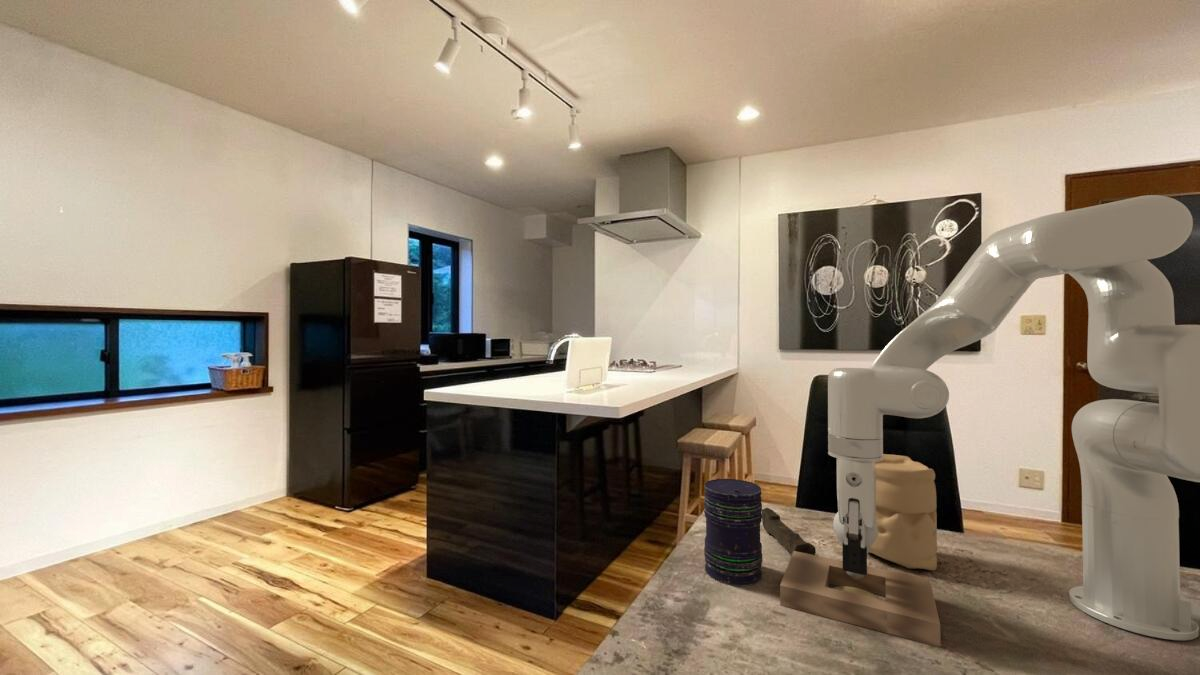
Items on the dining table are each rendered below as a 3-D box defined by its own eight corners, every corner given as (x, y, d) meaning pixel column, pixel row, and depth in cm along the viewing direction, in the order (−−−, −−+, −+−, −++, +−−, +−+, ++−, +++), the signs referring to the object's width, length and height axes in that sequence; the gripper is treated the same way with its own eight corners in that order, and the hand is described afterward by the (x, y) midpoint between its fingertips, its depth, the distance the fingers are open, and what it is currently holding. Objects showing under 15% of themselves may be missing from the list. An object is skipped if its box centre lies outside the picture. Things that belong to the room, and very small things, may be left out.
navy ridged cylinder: (699, 558, 88) (699, 478, 88) (752, 559, 87) (752, 478, 88) (710, 585, 78) (710, 495, 78) (770, 586, 77) (770, 495, 78)
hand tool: (816, 566, 85) (816, 540, 85) (795, 566, 85) (795, 540, 85) (775, 526, 104) (775, 505, 104) (757, 526, 104) (757, 505, 104)
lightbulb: (824, 573, 75) (824, 503, 75) (851, 566, 77) (851, 499, 77) (859, 592, 69) (858, 516, 69) (887, 583, 71) (887, 511, 72)
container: (912, 544, 94) (911, 454, 94) (953, 575, 81) (952, 471, 82) (846, 542, 95) (845, 452, 95) (877, 572, 82) (876, 469, 83)
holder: (929, 597, 74) (929, 578, 74) (940, 647, 62) (940, 624, 62) (793, 567, 84) (793, 550, 84) (780, 604, 72) (780, 585, 72)
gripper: (883, 461, 64) (884, 595, 64) (882, 440, 79) (882, 548, 79) (823, 455, 68) (823, 581, 68) (832, 435, 83) (832, 539, 82)
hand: (855, 562), depth 73 cm, fingers closed on lightbulb, 5 cm apart
